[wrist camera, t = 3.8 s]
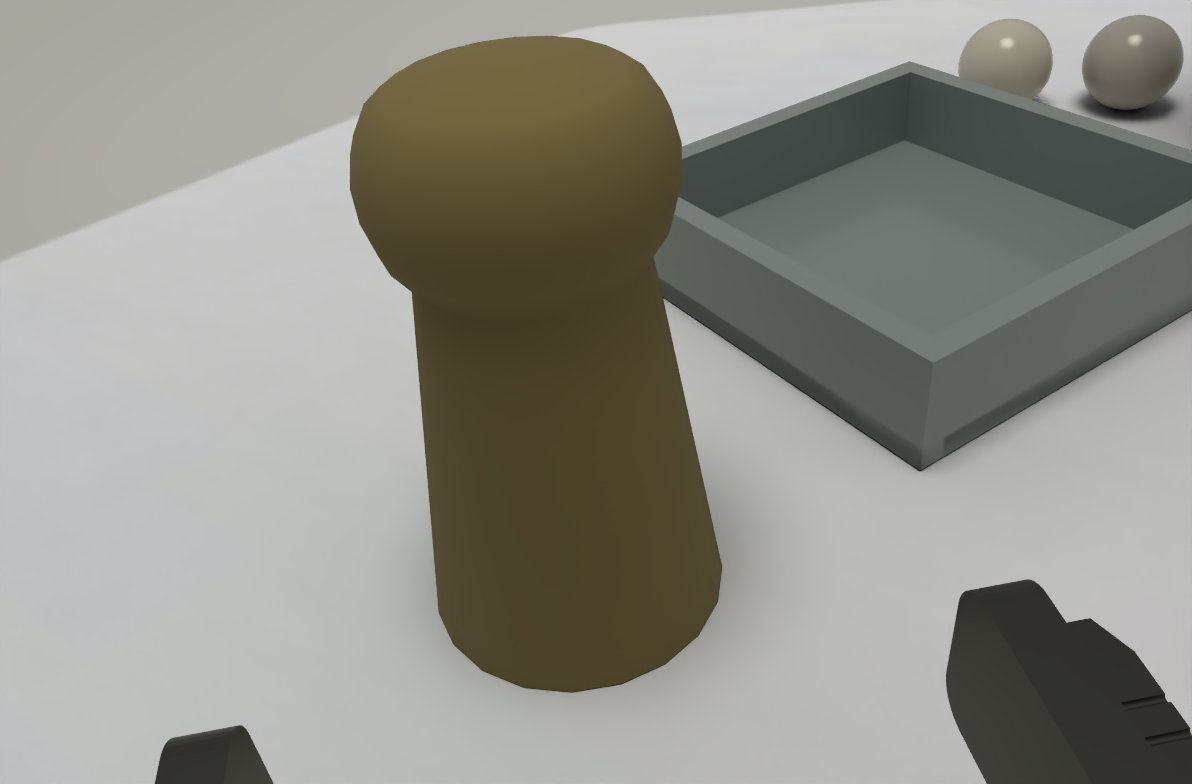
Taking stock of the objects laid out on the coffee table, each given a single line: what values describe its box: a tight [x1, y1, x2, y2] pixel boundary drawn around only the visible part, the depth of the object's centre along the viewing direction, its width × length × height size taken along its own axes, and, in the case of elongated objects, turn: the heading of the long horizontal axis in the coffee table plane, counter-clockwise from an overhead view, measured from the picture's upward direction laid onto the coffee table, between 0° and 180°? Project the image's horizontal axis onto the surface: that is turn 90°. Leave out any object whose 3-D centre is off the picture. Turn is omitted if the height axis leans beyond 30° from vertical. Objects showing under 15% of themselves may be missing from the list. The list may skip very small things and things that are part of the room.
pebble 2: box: [1082, 15, 1183, 110], centre depth 37 cm, size 3×3×3 cm
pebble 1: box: [958, 19, 1053, 100], centre depth 38 cm, size 3×3×3 cm
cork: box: [350, 36, 722, 692], centre depth 19 cm, size 6×6×11 cm
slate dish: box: [654, 61, 1192, 470], centre depth 29 cm, size 12×12×3 cm
